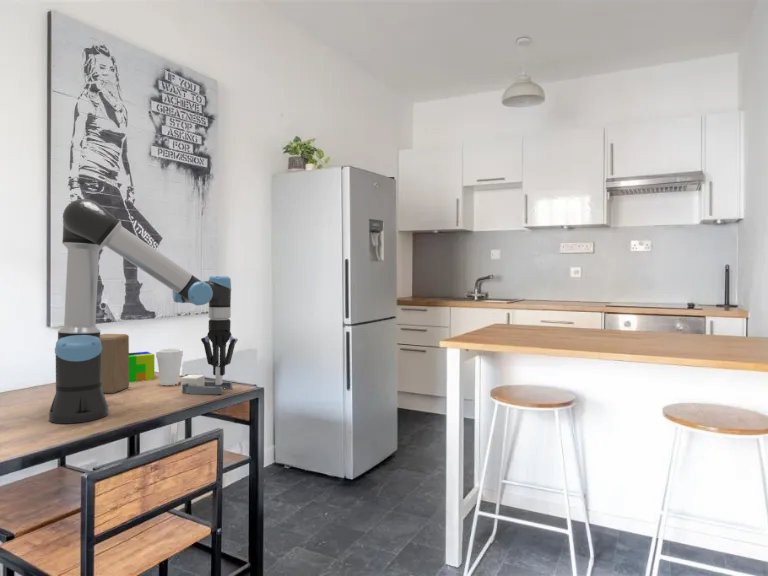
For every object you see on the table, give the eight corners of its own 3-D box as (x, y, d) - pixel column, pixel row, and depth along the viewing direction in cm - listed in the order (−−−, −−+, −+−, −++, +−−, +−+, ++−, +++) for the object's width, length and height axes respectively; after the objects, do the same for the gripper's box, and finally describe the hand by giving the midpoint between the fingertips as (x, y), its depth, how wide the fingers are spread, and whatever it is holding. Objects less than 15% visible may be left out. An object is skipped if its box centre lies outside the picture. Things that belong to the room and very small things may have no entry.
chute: (220, 395, 182) (220, 386, 182) (182, 393, 183) (182, 384, 183) (232, 388, 192) (232, 380, 192) (196, 387, 194) (196, 378, 193)
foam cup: (159, 387, 192) (159, 352, 192) (153, 383, 200) (153, 349, 199) (185, 384, 198) (185, 350, 197) (179, 380, 205) (179, 347, 205)
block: (197, 392, 185) (197, 378, 185) (181, 391, 186) (181, 378, 185) (204, 388, 191) (204, 375, 191) (189, 388, 192) (189, 374, 191)
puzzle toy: (147, 375, 215) (147, 351, 215) (154, 379, 208) (154, 354, 207) (120, 378, 209) (120, 353, 209) (127, 382, 201) (127, 357, 201)
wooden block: (130, 387, 192) (129, 333, 191) (113, 394, 182) (113, 337, 181) (104, 387, 193) (104, 333, 192) (86, 393, 183) (86, 336, 182)
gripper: (241, 318, 189) (240, 382, 190) (206, 317, 191) (206, 381, 191) (233, 320, 182) (232, 387, 183) (197, 319, 183) (196, 385, 184)
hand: (218, 384), depth 187 cm, fingers closed
